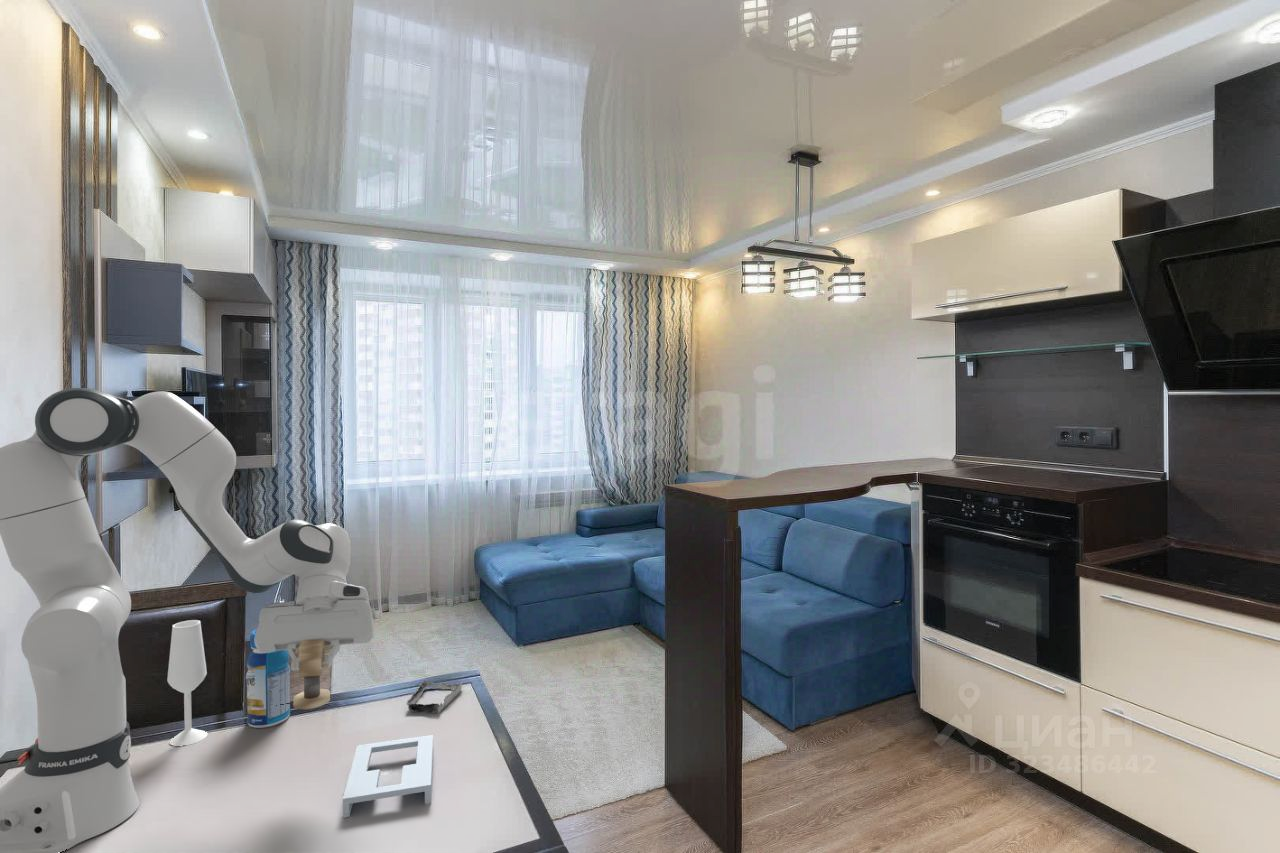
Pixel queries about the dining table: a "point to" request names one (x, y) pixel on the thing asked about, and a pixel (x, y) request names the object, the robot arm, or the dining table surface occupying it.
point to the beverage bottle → (267, 686)
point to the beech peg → (311, 675)
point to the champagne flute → (187, 673)
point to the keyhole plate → (366, 782)
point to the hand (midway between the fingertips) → (311, 667)
